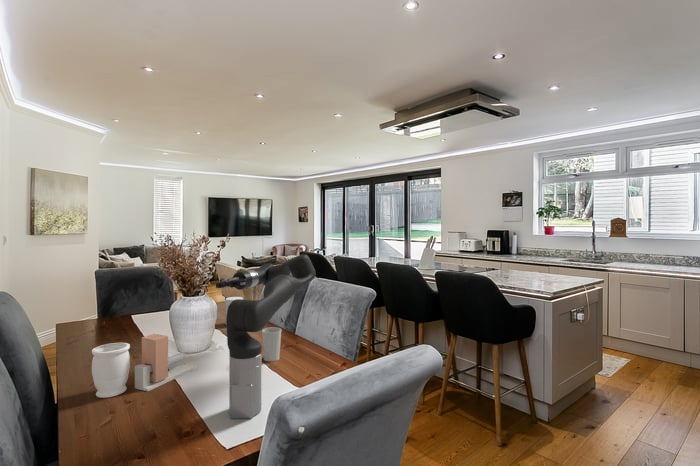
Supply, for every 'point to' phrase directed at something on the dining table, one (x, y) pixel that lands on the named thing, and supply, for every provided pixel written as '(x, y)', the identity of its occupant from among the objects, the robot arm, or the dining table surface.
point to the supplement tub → (227, 303)
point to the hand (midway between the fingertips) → (217, 285)
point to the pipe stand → (145, 384)
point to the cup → (271, 343)
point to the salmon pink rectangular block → (156, 355)
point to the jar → (110, 369)
